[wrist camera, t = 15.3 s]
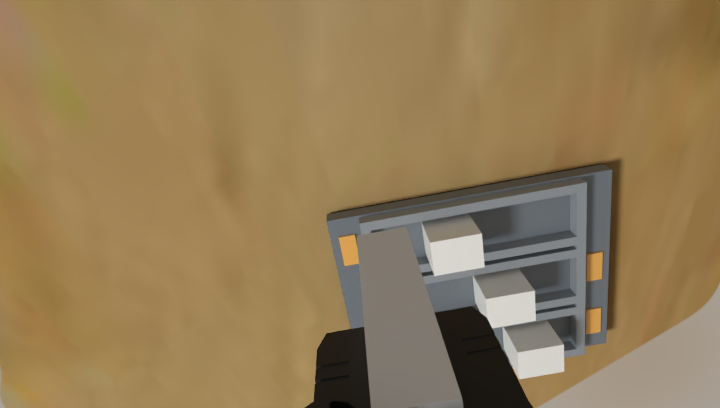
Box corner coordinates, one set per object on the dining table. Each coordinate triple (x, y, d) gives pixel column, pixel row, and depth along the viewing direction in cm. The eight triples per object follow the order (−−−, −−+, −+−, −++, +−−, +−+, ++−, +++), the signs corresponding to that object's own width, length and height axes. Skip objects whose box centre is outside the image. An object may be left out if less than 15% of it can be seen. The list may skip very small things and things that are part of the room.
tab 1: (421, 221, 38) (430, 242, 35) (467, 212, 38) (481, 233, 35) (425, 252, 39) (434, 276, 36) (470, 244, 39) (484, 267, 36)
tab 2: (472, 273, 41) (485, 299, 37) (516, 265, 40) (534, 290, 37) (475, 301, 42) (488, 329, 38) (518, 294, 42) (535, 320, 38)
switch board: (326, 214, 39) (326, 227, 37) (602, 164, 39) (620, 173, 36) (363, 373, 46) (364, 393, 44) (598, 332, 46) (613, 351, 43)
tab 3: (501, 323, 43) (517, 352, 39) (544, 316, 43) (563, 344, 39) (503, 348, 44) (519, 379, 40) (545, 341, 44) (564, 371, 40)
